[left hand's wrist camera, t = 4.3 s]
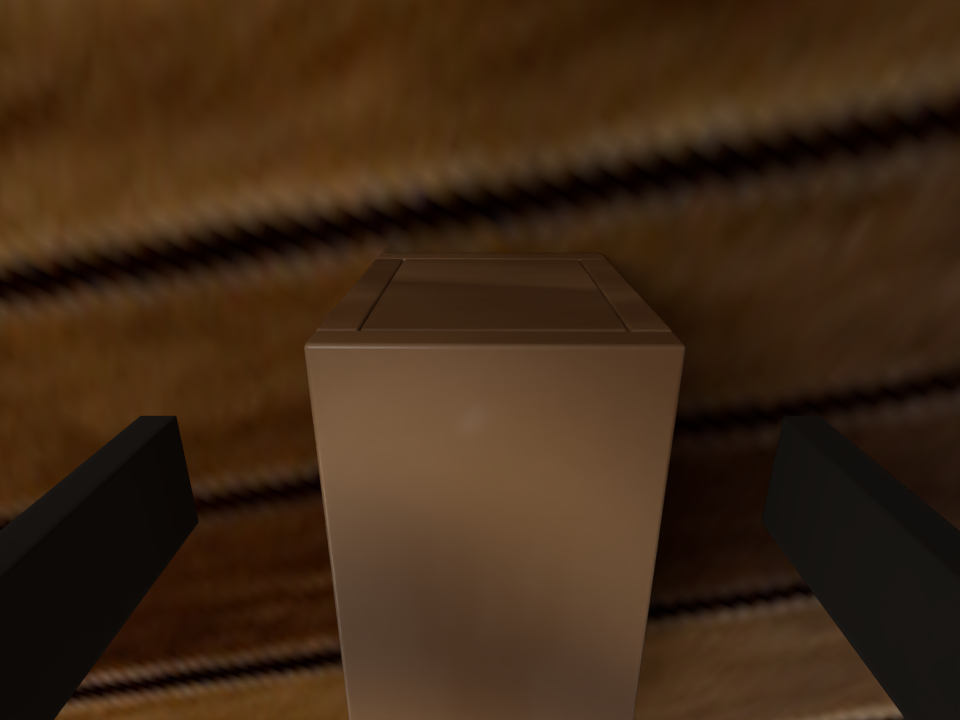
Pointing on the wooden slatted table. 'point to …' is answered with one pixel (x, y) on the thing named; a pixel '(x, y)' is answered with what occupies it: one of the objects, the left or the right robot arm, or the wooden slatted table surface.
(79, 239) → the wooden slatted table surface
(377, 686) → the cabinet
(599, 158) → the wooden slatted table surface
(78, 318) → the wooden slatted table surface
